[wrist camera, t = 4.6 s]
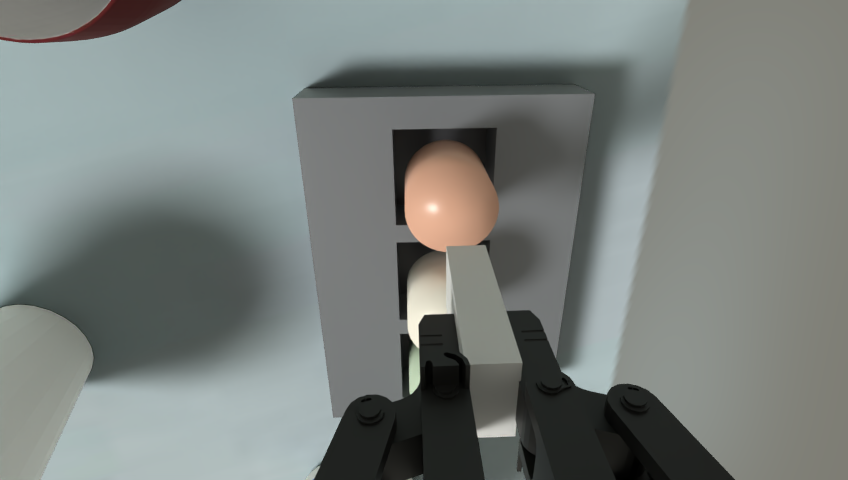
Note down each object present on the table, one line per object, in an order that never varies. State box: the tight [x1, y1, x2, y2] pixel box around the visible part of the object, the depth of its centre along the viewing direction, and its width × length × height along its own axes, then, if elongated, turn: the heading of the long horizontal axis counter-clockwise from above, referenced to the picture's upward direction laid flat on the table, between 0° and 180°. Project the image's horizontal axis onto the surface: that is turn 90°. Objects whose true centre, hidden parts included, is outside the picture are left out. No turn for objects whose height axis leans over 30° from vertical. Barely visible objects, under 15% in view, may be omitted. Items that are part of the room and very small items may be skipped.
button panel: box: [292, 84, 595, 418], centre depth 28 cm, size 20×14×3 cm
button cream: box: [407, 251, 447, 348], centre depth 24 cm, size 4×4×4 cm
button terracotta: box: [405, 140, 499, 252], centre depth 22 cm, size 4×4×4 cm
